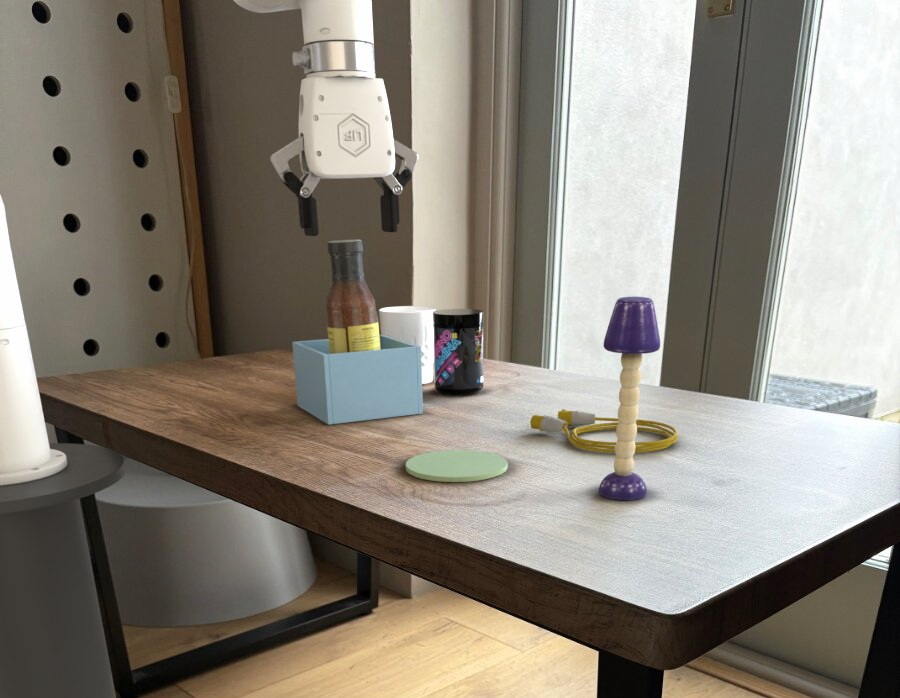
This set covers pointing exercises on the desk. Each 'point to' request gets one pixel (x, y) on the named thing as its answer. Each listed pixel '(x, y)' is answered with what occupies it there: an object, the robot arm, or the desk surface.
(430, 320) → the white cup
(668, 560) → the desk surface
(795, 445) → the desk surface
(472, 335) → the supplement container
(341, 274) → the sauce bottle
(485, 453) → the mat
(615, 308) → the toy lamp
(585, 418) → the extension cord
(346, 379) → the case
